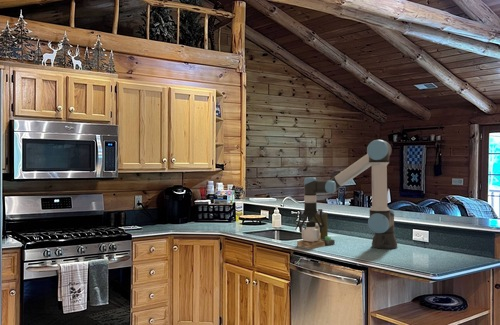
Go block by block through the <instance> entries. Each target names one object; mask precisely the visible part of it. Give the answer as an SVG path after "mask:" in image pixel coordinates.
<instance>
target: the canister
mask: <svg viewBox="0 0 500 325" xmlns="http://www.w3.org/2000/svg"><path fill="white" fill-rule="evenodd" d="M317 211H322V214H321V215H322V218H323V222H324V227H322V232H321V240H322V239H325V237H329V236H328V231H329V230H328V227H329V226H328V225H329V224H328V212H324V210H323V209H322V208H317ZM316 217H317V219H318V221H319V223H320V224H321V225H322V222H321V219H320V215H319V214H318V213H316ZM312 221H314V222H315V223H317V222H316V220H315V218H314V217H312Z"/></svg>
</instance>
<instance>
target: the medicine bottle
mask: <svg viewBox="0 0 500 325" xmlns="http://www.w3.org/2000/svg"><path fill="white" fill-rule="evenodd" d="M315 228H316V223H315V222H314V221H313V220H312V221H311V220H308V221H305V228H303V238H302V240H303V241H309V242H314V241H318V240H319V231H318V229H315Z"/></svg>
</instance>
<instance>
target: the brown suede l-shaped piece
mask: <svg viewBox="0 0 500 325" xmlns="http://www.w3.org/2000/svg"><path fill="white" fill-rule="evenodd" d="M318 227H319V225H318V223H316V228H315V229H318ZM296 245H297V247H301V248H306V249H307V248H308V249H316V248H322V247H325V246H334V245H335V239H332V238H331V240H325V239H322V240H321V233H320V238H319V240H318V241H314V242H309V241H303V239H301V240H296Z"/></svg>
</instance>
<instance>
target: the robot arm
mask: <svg viewBox="0 0 500 325" xmlns="http://www.w3.org/2000/svg"><path fill="white" fill-rule="evenodd" d="M392 151H393V150H392V146H391V144H390V143H389V142H388V141H387V140H383V139H374V140H372V141H371V142H369V143H368V145H367V148H366V154H364V155H363V156H362V157H360V158H359V159H358V160H357V161H355V162H353V163H352V164H351V165H349V166H348V167H346V168H345V169H343V170H342V171H340V172H339V173H337V175H335V176H333V177H332V178H331V179H328V180H318V179H317V178H316V177H305V178H304V179H303V180H304V181H303V183H304V184H303V190H304V191H303V193H304V195H303V196H304V199H303V200H304V210H299V215H298V220H297V224H296V227H298V228H299V233H300V234H301V239H303V229H304V227H303V225H304V224H305V223H306V220H307V219H308V218H313V217H314V218H315V220H316V222H317V223H318V225H319V227H318V231H319V238H320V233H321V232H322V227H324V222H323V218H322V215H321V214H322V212H323V211H318V207H317V194H319V193H321V194H334V193H336V191H339V189H341V187H343V186H344V185H346V184H347V183H348V182H350V181H351V180H353V179H355V178H356V177H357V176H359V175H361V173H363V172H364V171H366V170H367V169H369V168H371V207H370V208H369V217H368V220H367V225H368V228H369V229H370V231H372V232H373V233H374V235H373V238H372V242H371V247H372V248H374V249H381V250H382V249H383V250H385V249H387V250H389V249H392V250H393V249H397V248H398V242H397V239H396V236H395V211H394V209H391V208H390V207H388V172H387V171H388V169H387V167H388V165H389V164H390V156H391V155H392ZM316 213H318V214H319V215H320V219H321V222H322V225H321V224H320V223H319V221H318V219H317V217H316ZM303 214H304V215H305V216H304V218H303V219H302V222H301V218H302V215H303Z"/></svg>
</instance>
